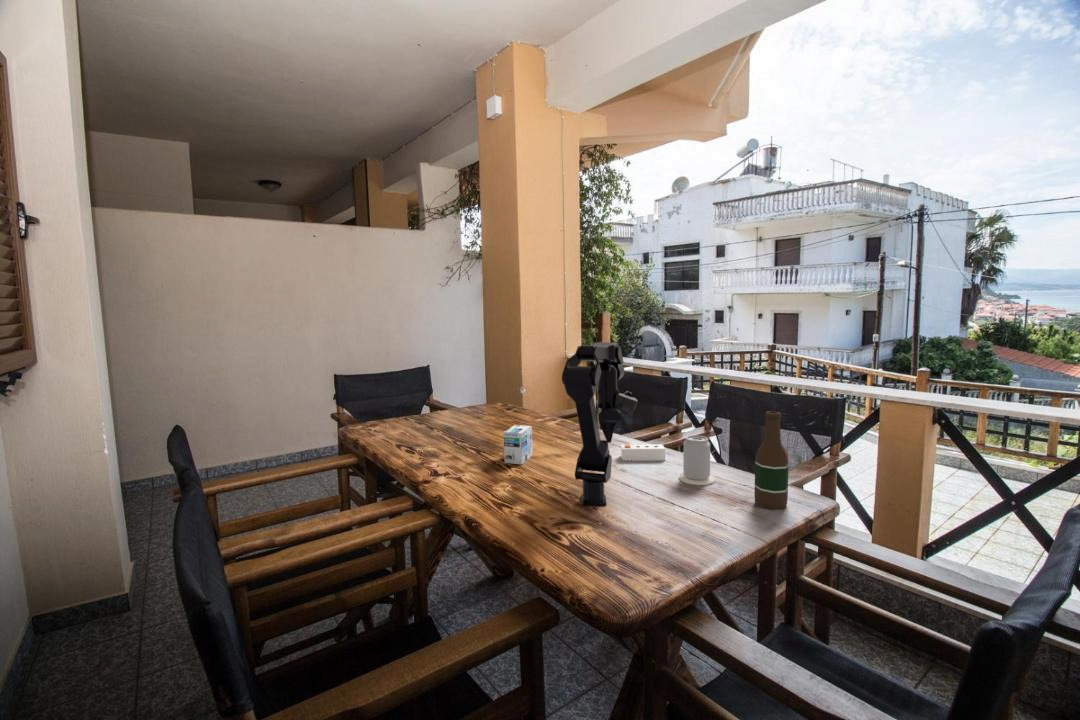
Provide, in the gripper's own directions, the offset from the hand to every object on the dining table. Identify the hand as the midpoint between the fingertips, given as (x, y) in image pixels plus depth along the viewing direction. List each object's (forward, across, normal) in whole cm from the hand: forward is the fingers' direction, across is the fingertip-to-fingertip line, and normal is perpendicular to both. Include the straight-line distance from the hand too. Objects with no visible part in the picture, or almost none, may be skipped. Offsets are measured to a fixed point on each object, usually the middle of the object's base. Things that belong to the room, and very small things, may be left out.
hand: (607, 437), depth 142 cm
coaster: (+13, +1, -26) cm, 29 cm away
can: (+13, +1, -26) cm, 29 cm away
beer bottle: (+13, -17, -40) cm, 45 cm away
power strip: (+13, +21, -13) cm, 28 cm away
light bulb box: (+13, +21, +29) cm, 38 cm away
